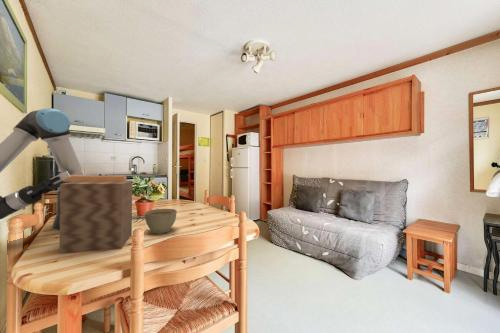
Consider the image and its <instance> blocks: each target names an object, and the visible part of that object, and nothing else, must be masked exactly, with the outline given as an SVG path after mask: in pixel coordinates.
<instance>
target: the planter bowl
mask: <svg viewBox="0 0 500 333" xmlns="http://www.w3.org/2000/svg"><path fill="white" fill-rule="evenodd" d="M177 212H178V211H177V209H174V208H157V209H156V208H155V209H150V210H147V211H144V218H145V222H146V225H147V227H148V228H149V230H150V232H151V234H154V235H155V234H156V235H157V234H166V233H169V232H170V231H171V228H172V227H173V226H174V223H175V222H176V218H177ZM165 232H166V233H165Z"/></svg>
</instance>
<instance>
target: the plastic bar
mask: <svg viewBox="0 0 500 333" xmlns="http://www.w3.org/2000/svg"><path fill="white" fill-rule="evenodd" d="M126 180H127V175H85V176H71V177H69V178H67V179H65V180H63V182H124V181H126Z"/></svg>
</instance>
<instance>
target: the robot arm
mask: <svg viewBox="0 0 500 333" xmlns="http://www.w3.org/2000/svg"><path fill="white" fill-rule="evenodd" d="M70 127H71V120H70V117H69V116H68V114H66V113H64V111H62V110H60V109H57V108H41V109H37V110H32V111H30V112H28V113H27V114H26V115H25V116H24V117H23V118H22V119H20V121H18V123H17V124H16V125H15V126H13V127H12V130H13V131H12V132H11V133H10V134H9V135H8V136H6V138H5V139H4V140H2V141H1V142H0V173H2V172H3V171H4V170H5V168H7V167H8V166H9V165H10V164H11V163H12V162H13V161H14V160H15V159H16V158H17V157H19V155H20V154H21V153H22V152H23V151H24V150H25V149H26V148H27V147H28V146H29V145H30V144H31V143H32V142H36V141H38V140H39V139H40V140H41V141H44V142H45V143H46V144H47V146H48V147H49V150H50V152H51V154H52V156H53V159H54V161H55V163H56V165H57V167H58V169H59V171H60V173H59V174H57V175H55V176H53V177H50V179H46V180H45V179H44V180H42V181H40V182H39V183H37V184H35V185H27V186H26V187H22V188H20V189H19V190H16V191H14V192H12V193H10V194H7V195H6V196H4V197H3V196H2V195H0V220H3V219H5V218H6V217H8V216H11V215H12V214H15V213H16V212H18V211H21V210H26V207H29V206H31V205H32V204H35V203H38V202H40V201H41V200H42V198H43V194H44V195H45V194H48V193H50V192H52V191H54V190H56V189H57V190H56V191H57V192H56V200H57V201H56V207H57V208H56V209H57V211H56V215H55V217H54V220H53V222H52V228H53V229H59V230H60V184H63V183H69V182H63V180H65V179H67V178H69V177H71V176H86V173H84V171H83V169H82V166H81V164H80V161H79V159H78V156H77V154H76V152H75V150H74V147H73V145H72V142H71V140H70V137H71V135H72V133H71V131H70Z"/></svg>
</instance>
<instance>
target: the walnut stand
mask: <svg viewBox="0 0 500 333" xmlns="http://www.w3.org/2000/svg"><path fill="white" fill-rule="evenodd" d="M132 220H133V180H131V179H129V180H127V179H126V181H124V182H69V183H63V184H60V229H59V246H58V247H59V249H58V250H59V252H58V253H59V254H61V255H62V254H72V253H85V252H86V253H87V252H96V251H109V250H120V249H121V250H122V248H124V246H125V244H126V243H127V242H128V241H129V239H130V238H131V236H132V234H133V233H132V232H133V230H132V229H133V228H132V226H133V224H132V223H133V221H132Z"/></svg>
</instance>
